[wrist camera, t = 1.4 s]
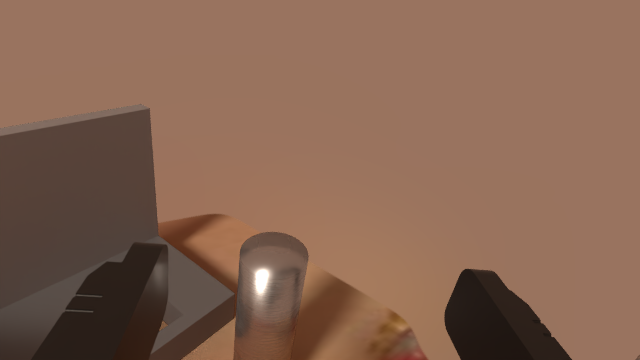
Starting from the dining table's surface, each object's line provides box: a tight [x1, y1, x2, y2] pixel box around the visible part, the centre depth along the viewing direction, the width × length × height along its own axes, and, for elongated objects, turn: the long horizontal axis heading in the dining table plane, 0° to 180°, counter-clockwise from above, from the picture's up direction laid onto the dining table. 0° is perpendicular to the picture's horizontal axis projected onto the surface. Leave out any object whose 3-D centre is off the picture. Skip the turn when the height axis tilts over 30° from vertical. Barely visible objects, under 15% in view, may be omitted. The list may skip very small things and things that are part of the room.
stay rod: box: [233, 232, 308, 360], centre depth 25 cm, size 4×4×13 cm
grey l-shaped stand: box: [0, 104, 235, 360], centre depth 25 cm, size 12×18×16 cm, turn 144°
